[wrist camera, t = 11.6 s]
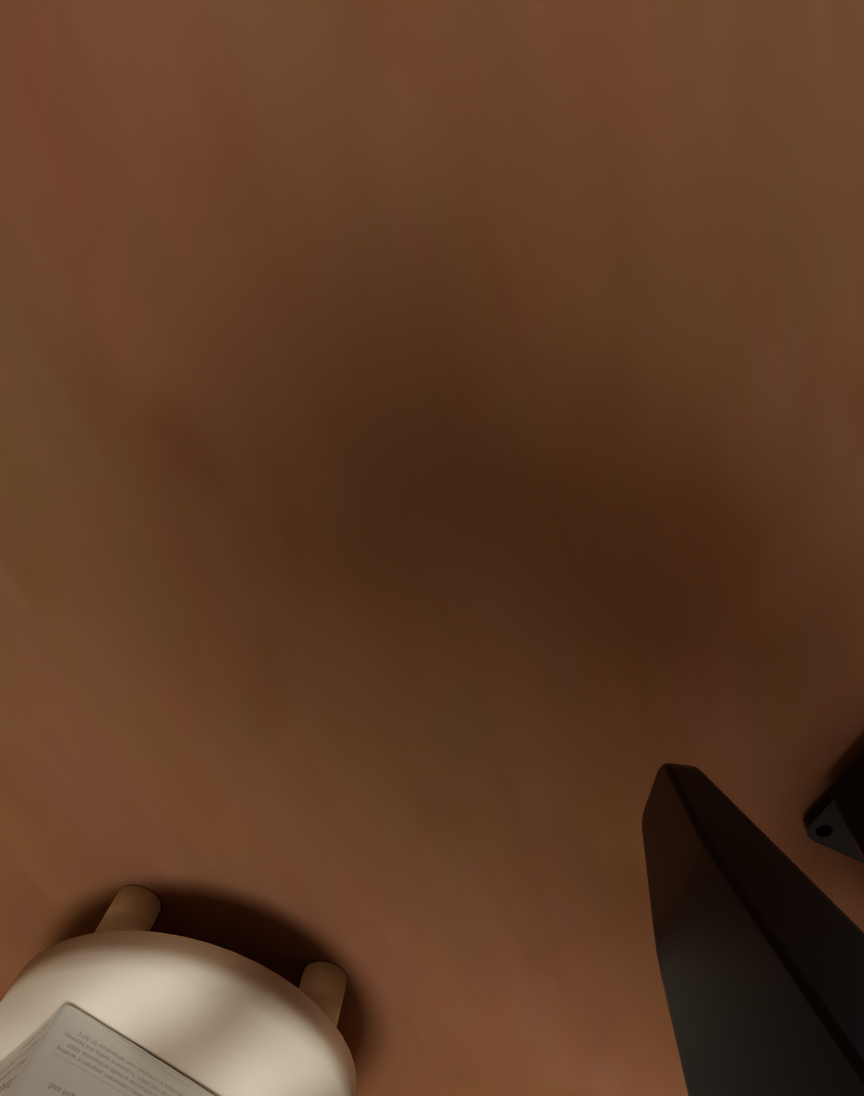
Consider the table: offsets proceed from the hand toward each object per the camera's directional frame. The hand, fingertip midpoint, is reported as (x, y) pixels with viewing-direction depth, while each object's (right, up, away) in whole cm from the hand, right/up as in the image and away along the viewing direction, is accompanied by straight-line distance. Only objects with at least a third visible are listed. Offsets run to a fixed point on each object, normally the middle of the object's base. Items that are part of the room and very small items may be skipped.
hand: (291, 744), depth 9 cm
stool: (-8, -17, +23) cm, 29 cm away
